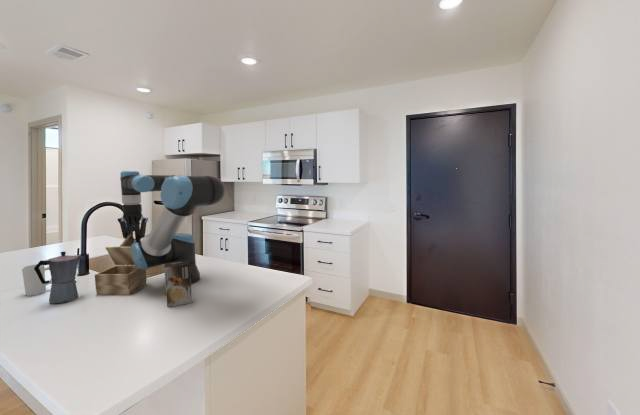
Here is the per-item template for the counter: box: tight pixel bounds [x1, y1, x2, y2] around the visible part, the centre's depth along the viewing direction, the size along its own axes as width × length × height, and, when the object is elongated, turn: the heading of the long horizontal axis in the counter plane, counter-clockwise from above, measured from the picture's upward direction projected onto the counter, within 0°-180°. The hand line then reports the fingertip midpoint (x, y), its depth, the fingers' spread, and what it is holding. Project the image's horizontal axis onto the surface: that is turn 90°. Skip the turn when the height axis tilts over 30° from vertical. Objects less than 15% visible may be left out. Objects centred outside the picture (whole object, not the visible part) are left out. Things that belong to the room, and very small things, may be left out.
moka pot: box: [34, 251, 83, 304], centre depth 115 cm, size 10×15×20 cm, turn 161°
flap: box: [105, 235, 136, 266], centre depth 131 cm, size 12×11×9 cm
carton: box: [94, 265, 148, 296], centre depth 126 cm, size 15×12×9 cm
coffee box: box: [163, 261, 193, 308], centre depth 113 cm, size 9×6×16 cm
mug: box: [21, 263, 52, 297], centre depth 123 cm, size 10×7×12 cm, turn 139°
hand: (135, 252), depth 135 cm, fingers closed on flap
